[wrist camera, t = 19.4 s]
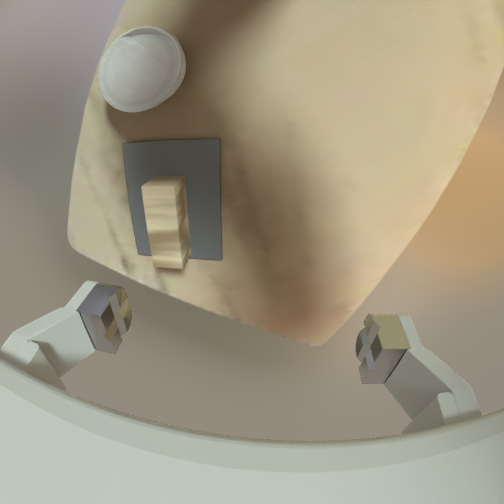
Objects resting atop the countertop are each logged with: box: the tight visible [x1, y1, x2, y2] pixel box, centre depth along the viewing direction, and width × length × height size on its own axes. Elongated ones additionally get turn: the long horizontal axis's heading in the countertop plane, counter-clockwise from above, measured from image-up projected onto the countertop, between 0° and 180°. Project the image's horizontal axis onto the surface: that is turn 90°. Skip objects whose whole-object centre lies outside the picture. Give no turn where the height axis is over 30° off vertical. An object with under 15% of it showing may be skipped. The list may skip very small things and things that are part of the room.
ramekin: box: [98, 26, 186, 113], centre depth 28 cm, size 11×11×5 cm
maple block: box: [141, 176, 191, 269], centre depth 38 cm, size 4×4×12 cm
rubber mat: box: [122, 139, 222, 260], centre depth 39 cm, size 18×14×1 cm
